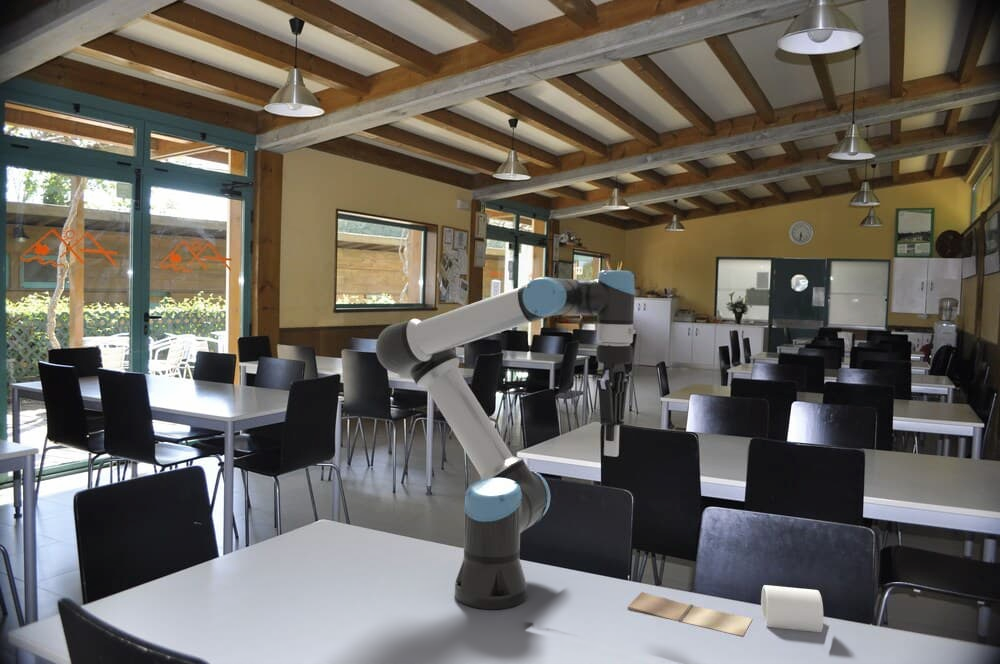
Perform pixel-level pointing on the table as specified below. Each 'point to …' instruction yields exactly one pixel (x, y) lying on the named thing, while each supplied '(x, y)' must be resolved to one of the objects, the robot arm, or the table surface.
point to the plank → (658, 606)
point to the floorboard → (715, 620)
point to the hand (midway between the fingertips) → (611, 455)
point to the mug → (792, 608)
